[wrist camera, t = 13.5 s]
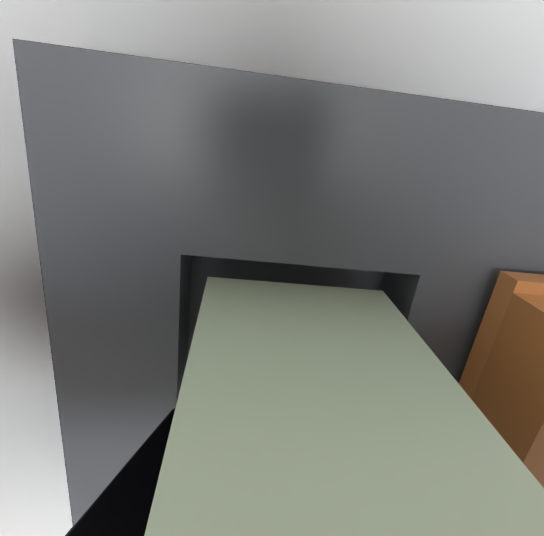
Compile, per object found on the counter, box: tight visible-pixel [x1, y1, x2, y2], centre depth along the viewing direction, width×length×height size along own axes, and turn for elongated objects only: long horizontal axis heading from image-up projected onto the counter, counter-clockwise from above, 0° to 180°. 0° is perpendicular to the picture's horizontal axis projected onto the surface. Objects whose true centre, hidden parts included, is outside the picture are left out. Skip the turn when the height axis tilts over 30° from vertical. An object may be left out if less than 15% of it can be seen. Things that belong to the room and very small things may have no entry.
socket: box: [13, 39, 544, 526], centre depth 11 cm, size 15×14×2 cm
